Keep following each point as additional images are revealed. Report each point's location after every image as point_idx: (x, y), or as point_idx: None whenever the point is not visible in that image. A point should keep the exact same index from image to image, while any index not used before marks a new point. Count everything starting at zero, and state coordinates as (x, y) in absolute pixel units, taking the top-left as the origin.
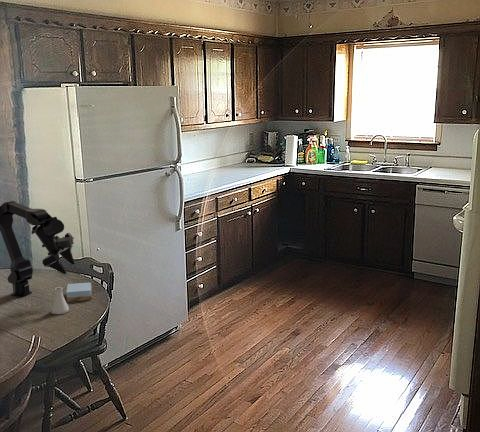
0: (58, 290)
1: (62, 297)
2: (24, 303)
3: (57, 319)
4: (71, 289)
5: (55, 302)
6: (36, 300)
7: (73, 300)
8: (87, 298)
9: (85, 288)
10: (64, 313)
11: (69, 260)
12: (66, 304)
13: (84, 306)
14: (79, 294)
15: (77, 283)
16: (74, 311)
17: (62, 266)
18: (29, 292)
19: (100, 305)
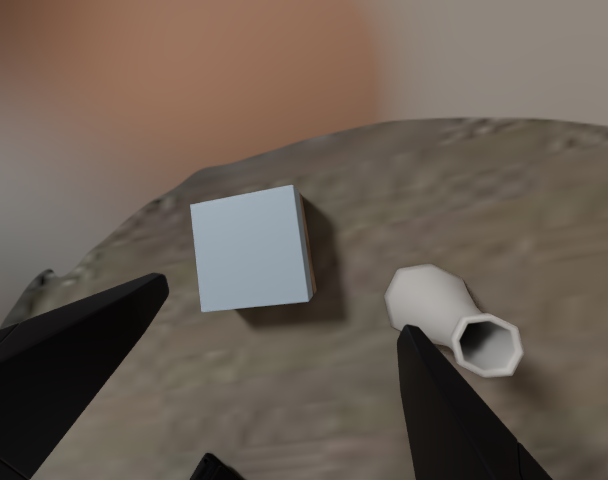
0: (518, 341)
1: (464, 302)
2: (319, 471)
3: (524, 299)
4: (272, 281)
5: (470, 335)
6: (290, 422)
7: (312, 265)
8: (302, 209)
9: (264, 215)
10: (461, 278)
11: (119, 343)
12: (433, 277)
13: (375, 208)
14: (303, 239)
15: (197, 266)
16: (430, 240)
17: (491, 435)
18: (219, 467)
19: (369, 143)
